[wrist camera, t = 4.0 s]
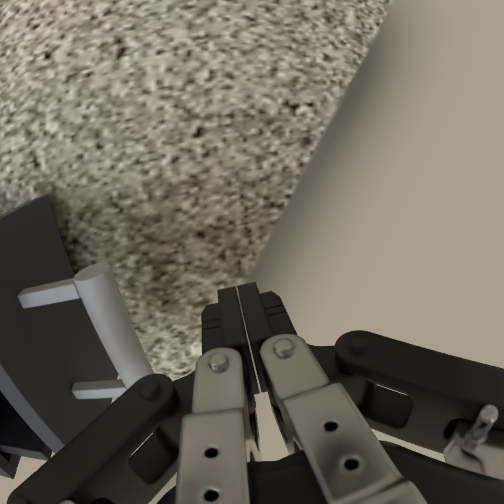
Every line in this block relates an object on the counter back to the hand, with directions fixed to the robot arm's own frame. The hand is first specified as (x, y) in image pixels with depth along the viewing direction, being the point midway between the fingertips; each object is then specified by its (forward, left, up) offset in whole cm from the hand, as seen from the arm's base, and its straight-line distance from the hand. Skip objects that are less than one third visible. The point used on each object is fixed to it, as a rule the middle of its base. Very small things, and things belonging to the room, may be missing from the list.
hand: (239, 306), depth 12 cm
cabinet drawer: (+9, -9, -4) cm, 13 cm away
